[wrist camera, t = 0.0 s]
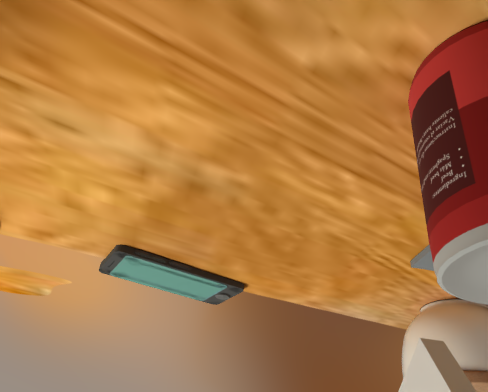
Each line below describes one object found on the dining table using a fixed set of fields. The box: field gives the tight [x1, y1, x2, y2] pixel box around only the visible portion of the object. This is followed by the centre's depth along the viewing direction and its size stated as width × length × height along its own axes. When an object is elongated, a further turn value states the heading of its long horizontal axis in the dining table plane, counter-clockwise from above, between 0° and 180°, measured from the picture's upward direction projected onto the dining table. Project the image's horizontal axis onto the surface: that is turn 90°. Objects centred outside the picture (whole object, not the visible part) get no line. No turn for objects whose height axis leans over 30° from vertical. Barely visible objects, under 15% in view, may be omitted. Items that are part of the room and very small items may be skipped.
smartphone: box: [99, 245, 244, 305], centre depth 49 cm, size 7×1×15 cm
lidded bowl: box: [402, 299, 488, 392], centre depth 46 cm, size 13×13×11 cm
